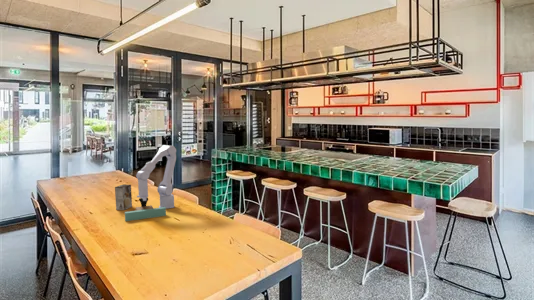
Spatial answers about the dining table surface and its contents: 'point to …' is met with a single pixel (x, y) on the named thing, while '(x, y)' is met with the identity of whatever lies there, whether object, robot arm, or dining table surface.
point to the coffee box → (123, 197)
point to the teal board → (145, 214)
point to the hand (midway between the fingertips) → (143, 208)
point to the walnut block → (144, 207)
